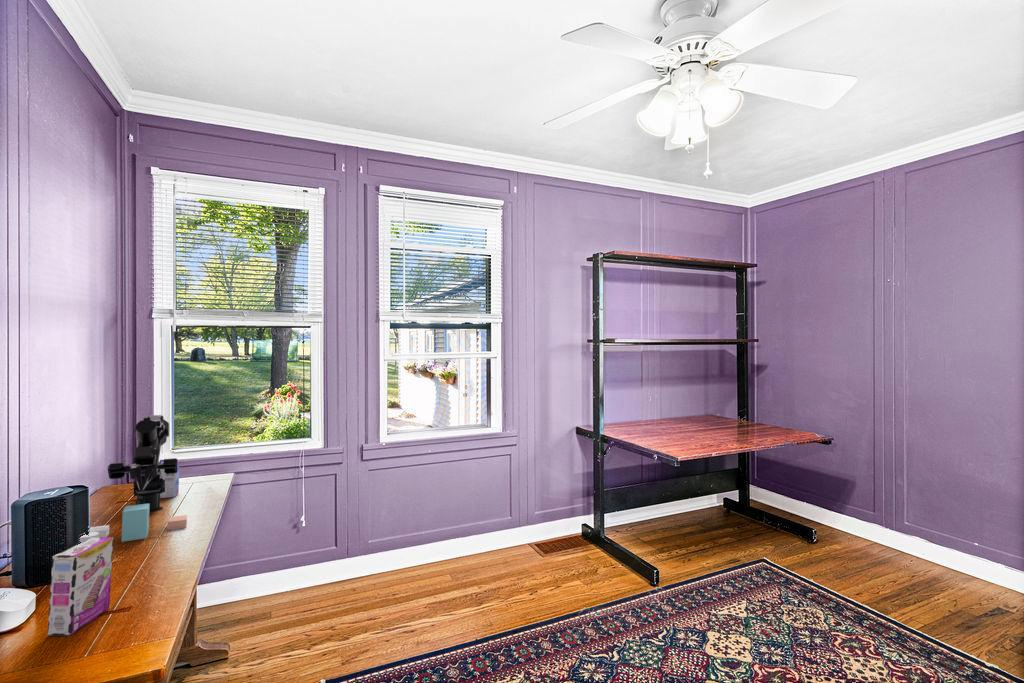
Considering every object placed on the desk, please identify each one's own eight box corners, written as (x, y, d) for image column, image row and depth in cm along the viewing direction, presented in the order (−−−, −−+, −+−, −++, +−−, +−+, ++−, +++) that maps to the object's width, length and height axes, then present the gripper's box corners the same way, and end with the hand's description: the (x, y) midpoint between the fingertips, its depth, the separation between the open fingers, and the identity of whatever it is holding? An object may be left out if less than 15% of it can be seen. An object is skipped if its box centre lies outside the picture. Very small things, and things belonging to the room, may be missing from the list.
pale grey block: (88, 540, 151) (88, 527, 151) (108, 537, 154) (109, 524, 154) (84, 546, 147) (84, 532, 147) (105, 543, 149) (106, 530, 149)
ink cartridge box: (179, 493, 201) (180, 458, 201) (175, 497, 196) (177, 460, 196) (150, 495, 197) (151, 459, 198) (145, 499, 192) (147, 462, 192)
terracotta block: (168, 529, 162) (169, 517, 162) (186, 527, 164) (187, 515, 164) (167, 534, 157) (167, 521, 157) (185, 531, 160) (186, 519, 160)
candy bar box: (72, 636, 101) (75, 556, 102) (46, 637, 101) (49, 556, 101) (111, 608, 112) (114, 536, 113) (88, 608, 112) (91, 536, 112)
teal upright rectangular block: (124, 535, 152) (125, 506, 152) (148, 531, 155) (149, 503, 155) (121, 541, 147) (122, 511, 147) (146, 538, 150) (147, 508, 150)
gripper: (109, 438, 160) (101, 480, 151) (178, 434, 170) (175, 473, 160) (113, 458, 167) (105, 499, 157) (179, 453, 177) (175, 491, 167)
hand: (141, 490), depth 160 cm, fingers closed
